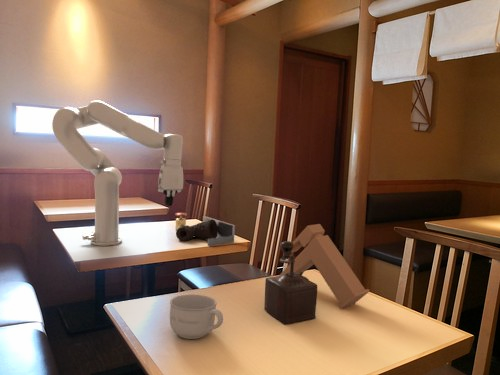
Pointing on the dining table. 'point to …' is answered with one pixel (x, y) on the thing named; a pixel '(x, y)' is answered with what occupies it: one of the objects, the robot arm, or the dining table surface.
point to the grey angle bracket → (221, 232)
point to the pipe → (198, 231)
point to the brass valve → (180, 220)
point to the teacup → (194, 315)
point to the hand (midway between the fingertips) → (168, 205)
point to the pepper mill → (290, 293)
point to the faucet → (327, 265)
